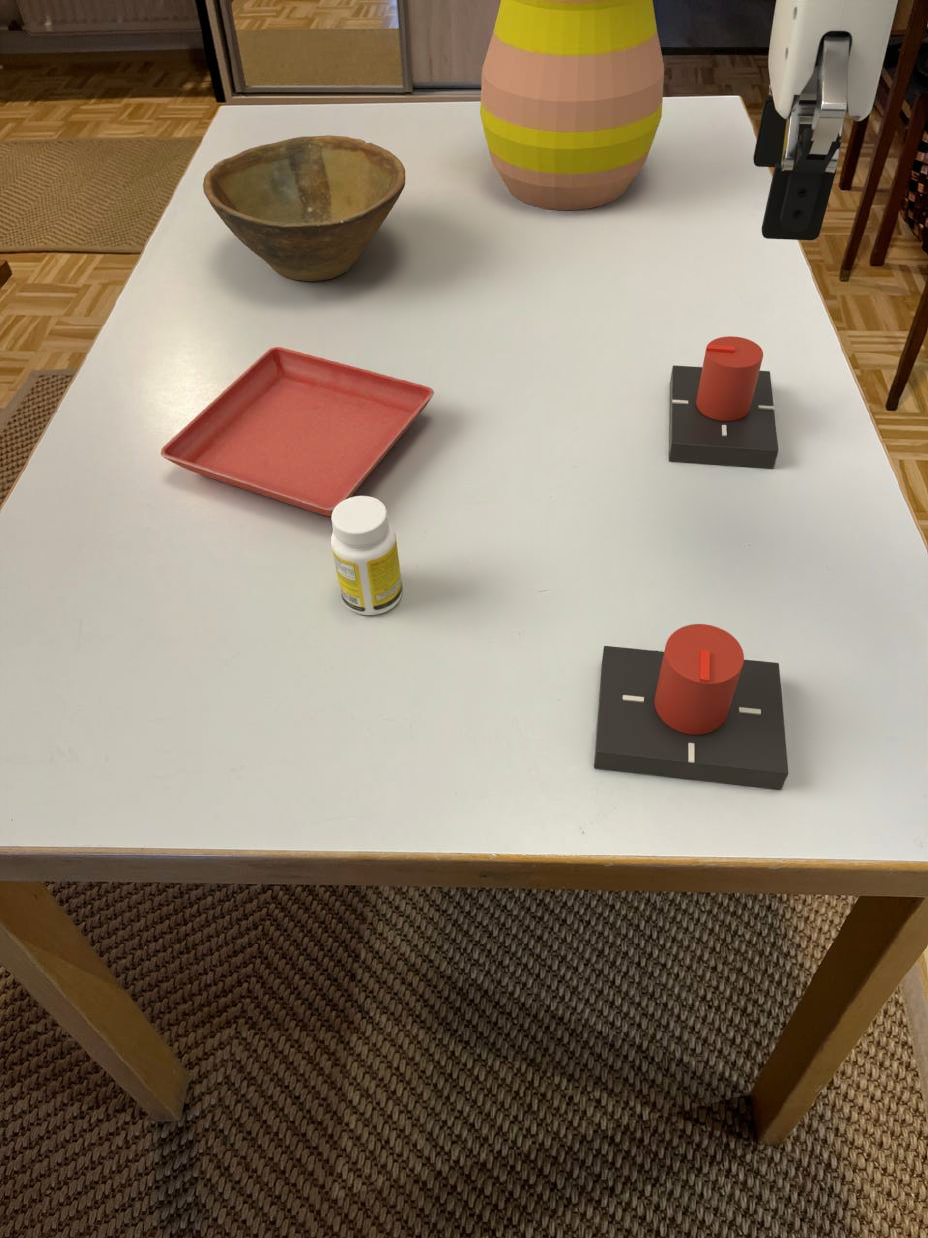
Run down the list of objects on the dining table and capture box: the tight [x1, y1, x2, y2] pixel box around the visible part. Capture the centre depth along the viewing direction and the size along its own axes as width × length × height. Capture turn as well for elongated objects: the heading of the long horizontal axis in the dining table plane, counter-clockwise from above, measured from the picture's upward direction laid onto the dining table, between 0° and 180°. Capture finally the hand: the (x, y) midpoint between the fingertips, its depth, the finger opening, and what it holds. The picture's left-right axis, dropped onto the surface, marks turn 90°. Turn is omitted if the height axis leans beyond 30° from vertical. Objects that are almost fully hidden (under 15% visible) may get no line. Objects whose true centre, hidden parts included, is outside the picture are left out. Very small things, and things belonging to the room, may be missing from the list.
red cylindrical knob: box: [696, 335, 764, 421], centre depth 81 cm, size 5×5×6 cm
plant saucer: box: [160, 346, 435, 517], centre depth 83 cm, size 18×18×3 cm
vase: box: [479, 0, 665, 211], centre depth 107 cm, size 22×22×30 cm
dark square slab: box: [668, 365, 779, 470], centre depth 84 cm, size 12×9×2 cm
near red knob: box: [655, 623, 745, 735], centre depth 59 cm, size 5×5×6 cm
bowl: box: [202, 134, 406, 282], centre depth 103 cm, size 22×23×10 cm
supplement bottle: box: [330, 495, 403, 616], centre depth 69 cm, size 5×5×8 cm
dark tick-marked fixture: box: [593, 645, 789, 791], centre depth 62 cm, size 12×9×2 cm
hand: (782, 199), depth 57 cm, fingers open, 9 cm apart
